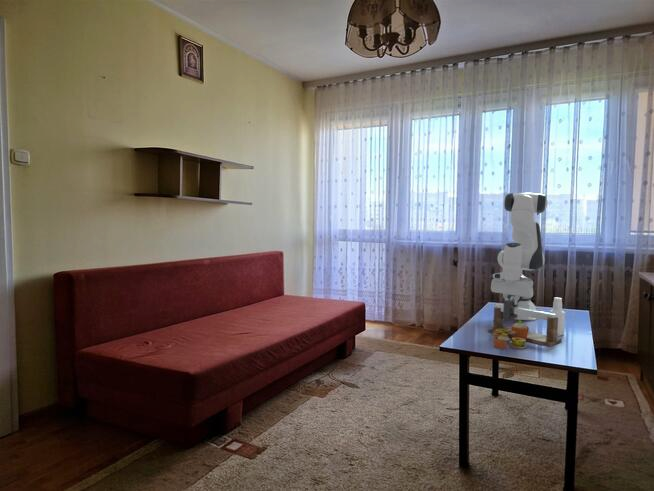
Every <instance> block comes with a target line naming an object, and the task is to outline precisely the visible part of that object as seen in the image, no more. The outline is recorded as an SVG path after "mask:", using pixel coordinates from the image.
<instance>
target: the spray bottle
mask: <svg viewBox="0 0 654 491" xmlns="http://www.w3.org/2000/svg"><path fill="white" fill-rule="evenodd" d="M562 301H563V298H562V297H557V296H556V297H553V302H552V309H550V310H549V312H548V313H553V314H557V317H558V329H557V336H564V335H565V325H566V312H565V311H564V310H563V302H562Z"/></svg>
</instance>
